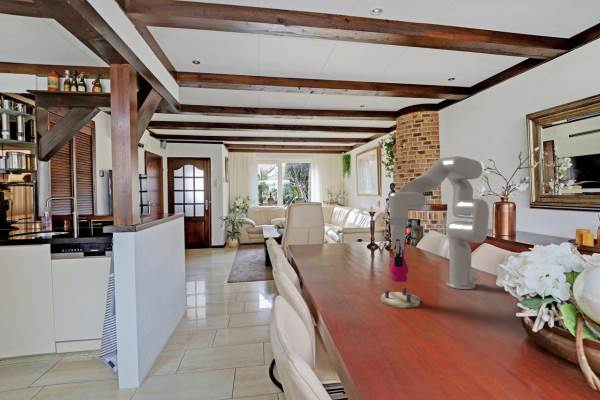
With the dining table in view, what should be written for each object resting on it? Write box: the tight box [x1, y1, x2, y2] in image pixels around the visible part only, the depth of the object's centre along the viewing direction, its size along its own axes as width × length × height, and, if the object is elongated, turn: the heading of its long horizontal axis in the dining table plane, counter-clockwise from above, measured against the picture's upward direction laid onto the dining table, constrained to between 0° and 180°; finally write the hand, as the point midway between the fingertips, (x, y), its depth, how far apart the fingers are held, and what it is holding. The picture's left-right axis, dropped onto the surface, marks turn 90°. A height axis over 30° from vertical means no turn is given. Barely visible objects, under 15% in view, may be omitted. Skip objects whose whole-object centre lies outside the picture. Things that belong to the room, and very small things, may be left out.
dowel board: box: [379, 286, 421, 309], centre depth 135 cm, size 16×16×4 cm
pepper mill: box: [390, 238, 409, 283], centre depth 135 cm, size 7×7×20 cm
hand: (399, 264), depth 135 cm, fingers closed on pepper mill, 5 cm apart
